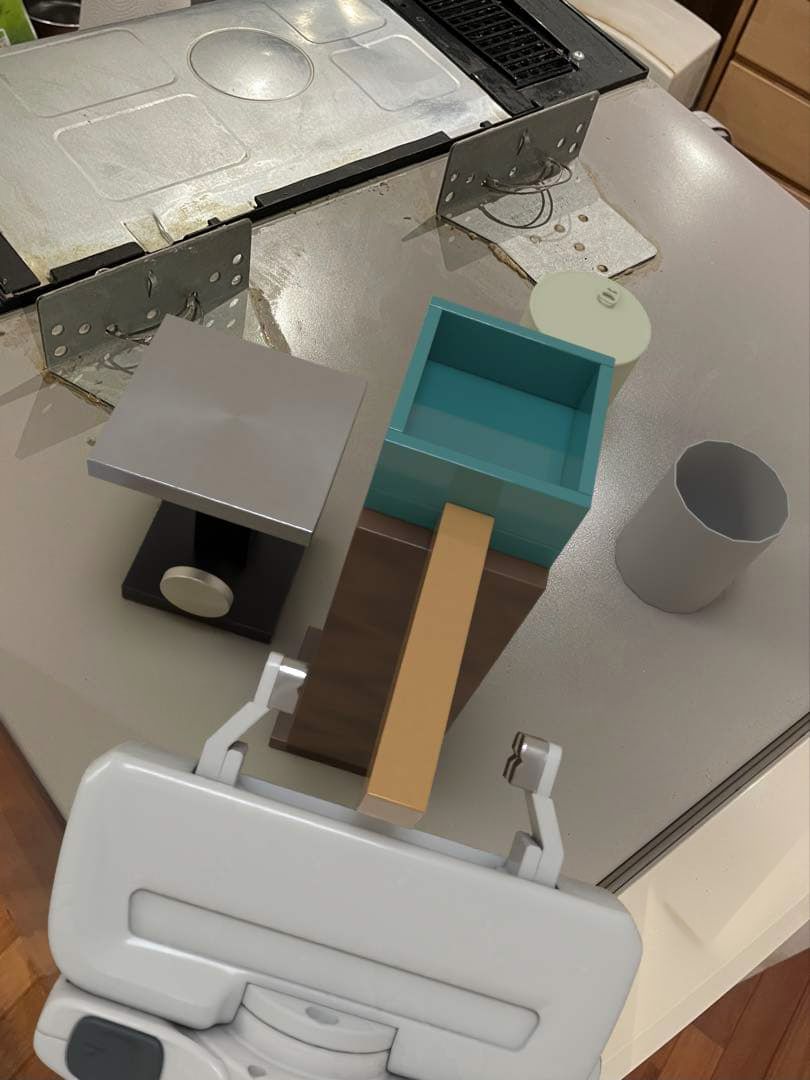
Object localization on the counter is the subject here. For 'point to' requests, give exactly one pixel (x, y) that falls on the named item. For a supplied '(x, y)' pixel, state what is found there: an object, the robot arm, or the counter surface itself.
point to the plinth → (390, 639)
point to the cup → (702, 526)
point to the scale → (225, 471)
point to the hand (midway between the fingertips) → (416, 698)
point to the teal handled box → (474, 505)
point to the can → (591, 318)
